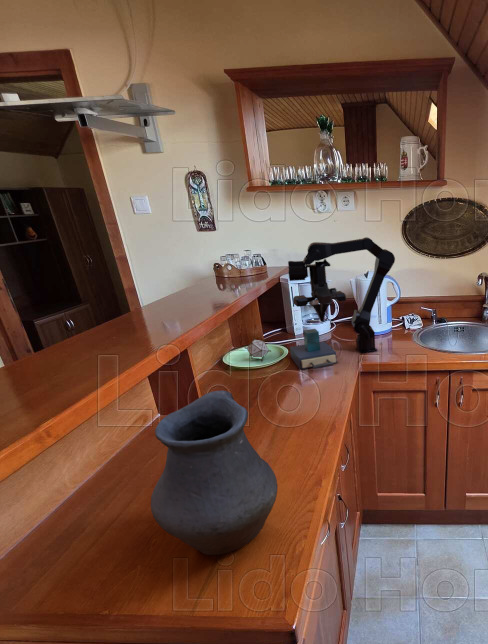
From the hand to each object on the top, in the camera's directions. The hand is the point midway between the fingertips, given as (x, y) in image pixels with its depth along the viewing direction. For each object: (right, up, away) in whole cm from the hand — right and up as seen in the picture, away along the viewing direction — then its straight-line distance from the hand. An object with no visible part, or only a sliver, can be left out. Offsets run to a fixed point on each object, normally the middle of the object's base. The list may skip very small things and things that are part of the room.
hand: (321, 321), depth 158 cm
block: (-3, -11, -3) cm, 12 cm away
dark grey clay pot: (-5, -51, -81) cm, 96 cm away
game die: (-24, -15, +1) cm, 28 cm away
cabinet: (-3, -15, -1) cm, 15 cm away
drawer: (-1, -16, -5) cm, 16 cm away
